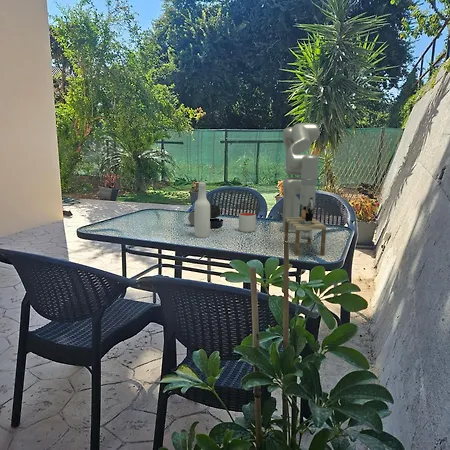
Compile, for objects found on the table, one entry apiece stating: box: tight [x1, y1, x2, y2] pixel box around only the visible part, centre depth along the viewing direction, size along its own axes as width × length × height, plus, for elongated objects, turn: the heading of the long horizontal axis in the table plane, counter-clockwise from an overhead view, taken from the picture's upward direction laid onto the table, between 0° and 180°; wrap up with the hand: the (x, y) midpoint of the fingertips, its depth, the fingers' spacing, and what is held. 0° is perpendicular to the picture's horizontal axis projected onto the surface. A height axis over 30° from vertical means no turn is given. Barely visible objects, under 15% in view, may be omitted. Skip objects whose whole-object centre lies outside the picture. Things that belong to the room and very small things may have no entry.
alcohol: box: [193, 181, 211, 239], centre depth 220 cm, size 9×9×30 cm
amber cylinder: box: [300, 209, 313, 241], centre depth 192 cm, size 5×5×14 cm
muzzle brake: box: [187, 204, 222, 226], centre depth 256 cm, size 10×28×10 cm, turn 154°
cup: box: [238, 212, 257, 233], centre depth 235 cm, size 10×10×10 cm
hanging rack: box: [283, 216, 327, 257], centre depth 197 cm, size 22×14×14 cm, turn 5°
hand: (306, 219), depth 192 cm, fingers closed on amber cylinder, 5 cm apart
